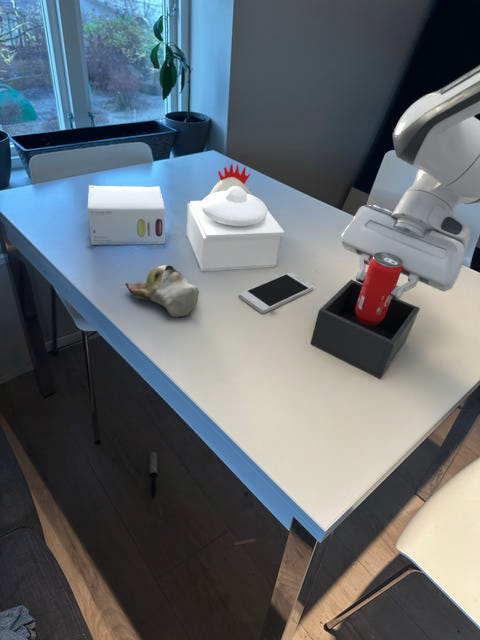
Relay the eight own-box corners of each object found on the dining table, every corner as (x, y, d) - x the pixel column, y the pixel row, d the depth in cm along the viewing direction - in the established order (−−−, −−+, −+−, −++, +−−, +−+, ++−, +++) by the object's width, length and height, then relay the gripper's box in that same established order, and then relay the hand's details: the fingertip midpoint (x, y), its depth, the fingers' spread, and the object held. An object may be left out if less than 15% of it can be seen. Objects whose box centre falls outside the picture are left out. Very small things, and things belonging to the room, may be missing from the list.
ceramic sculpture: (168, 290, 75) (119, 258, 83) (169, 332, 80) (123, 297, 88) (215, 271, 81) (165, 243, 90) (214, 311, 86) (167, 281, 95)
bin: (405, 340, 85) (420, 307, 80) (380, 379, 76) (394, 344, 71) (341, 311, 91) (351, 279, 86) (310, 344, 82) (318, 309, 77)
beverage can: (363, 305, 83) (382, 248, 75) (388, 319, 80) (410, 261, 73) (347, 316, 80) (365, 257, 72) (372, 330, 77) (394, 270, 70)
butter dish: (186, 234, 111) (188, 171, 101) (255, 232, 116) (263, 171, 106) (201, 272, 97) (205, 202, 88) (278, 267, 102) (290, 201, 93)
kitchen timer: (249, 236, 113) (257, 178, 104) (197, 226, 115) (200, 168, 106) (259, 214, 124) (266, 160, 115) (211, 206, 126) (214, 151, 117)
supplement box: (90, 246, 101) (86, 207, 96) (92, 220, 111) (88, 184, 106) (165, 244, 105) (165, 207, 100) (160, 220, 115) (160, 184, 110)
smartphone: (238, 296, 91) (238, 292, 90) (289, 274, 100) (290, 271, 99) (262, 314, 87) (263, 310, 87) (313, 289, 96) (314, 286, 95)
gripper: (361, 191, 78) (320, 258, 78) (480, 233, 68) (433, 310, 68) (366, 209, 84) (328, 271, 83) (476, 250, 74) (434, 321, 74)
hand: (376, 289), depth 75 cm, fingers closed on beverage can, 5 cm apart
